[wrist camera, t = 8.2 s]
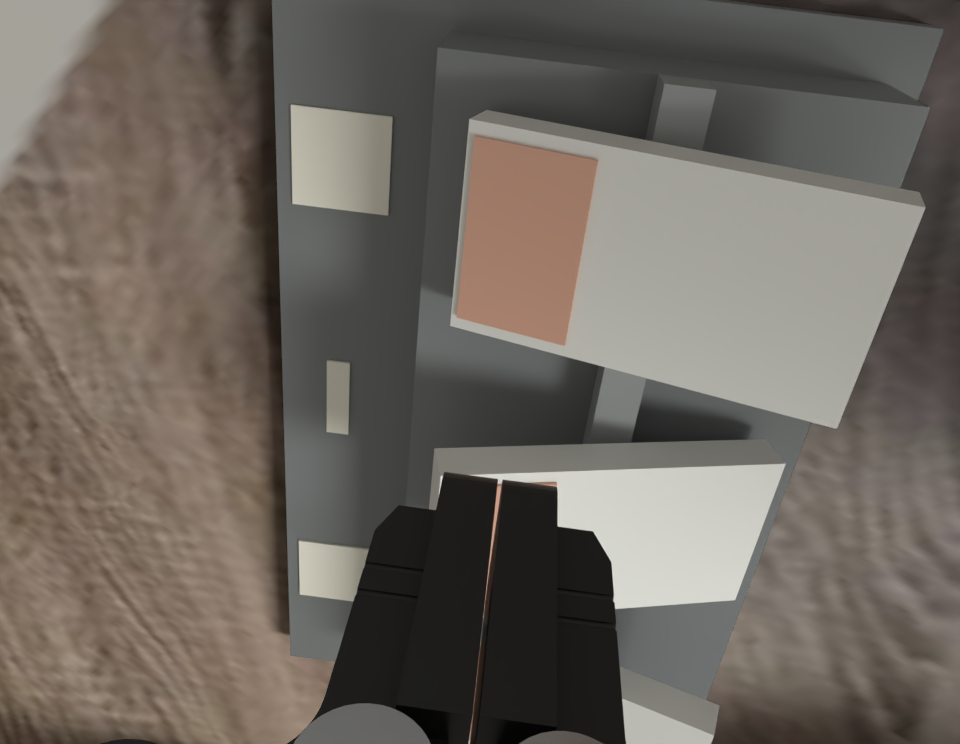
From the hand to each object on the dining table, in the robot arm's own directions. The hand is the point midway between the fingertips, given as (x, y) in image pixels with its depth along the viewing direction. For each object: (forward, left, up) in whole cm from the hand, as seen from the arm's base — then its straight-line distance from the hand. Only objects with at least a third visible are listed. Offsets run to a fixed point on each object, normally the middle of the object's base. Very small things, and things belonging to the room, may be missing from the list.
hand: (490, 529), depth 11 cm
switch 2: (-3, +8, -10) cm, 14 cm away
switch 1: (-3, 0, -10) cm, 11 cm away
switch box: (-1, +8, -16) cm, 19 cm away
